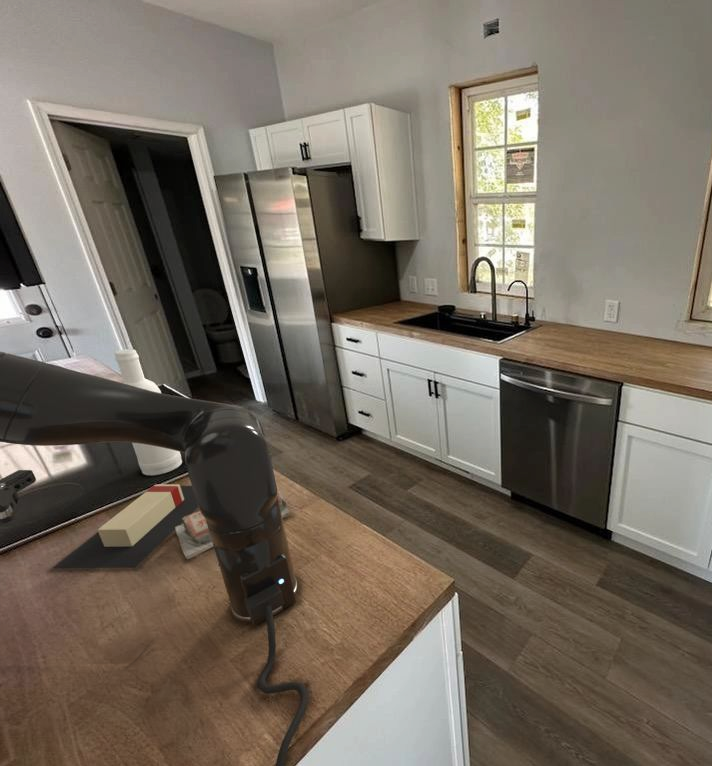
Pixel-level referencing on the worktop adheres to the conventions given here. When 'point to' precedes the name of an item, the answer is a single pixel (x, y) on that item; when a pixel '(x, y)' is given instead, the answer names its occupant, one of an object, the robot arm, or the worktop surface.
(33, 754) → the worktop surface
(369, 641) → the worktop surface
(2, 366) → the robot arm
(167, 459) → the bottle
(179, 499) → the carton
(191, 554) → the packaged product
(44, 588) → the worktop surface
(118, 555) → the mat
